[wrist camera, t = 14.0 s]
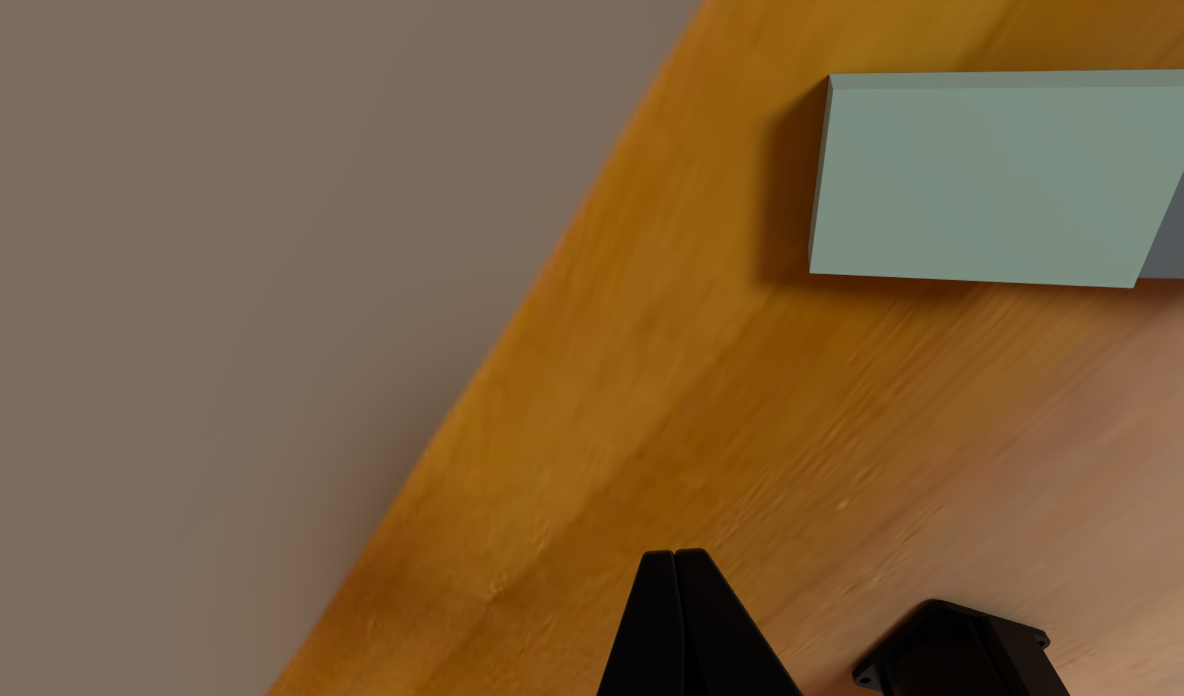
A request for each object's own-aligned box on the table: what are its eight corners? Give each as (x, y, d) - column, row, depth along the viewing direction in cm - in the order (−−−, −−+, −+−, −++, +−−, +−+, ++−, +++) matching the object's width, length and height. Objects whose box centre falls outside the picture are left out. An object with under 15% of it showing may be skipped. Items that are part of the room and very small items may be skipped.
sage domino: (829, 74, 18) (1184, 69, 16) (807, 248, 21) (1108, 259, 19) (833, 89, 17) (1220, 86, 15) (809, 273, 19) (1133, 288, 18)
